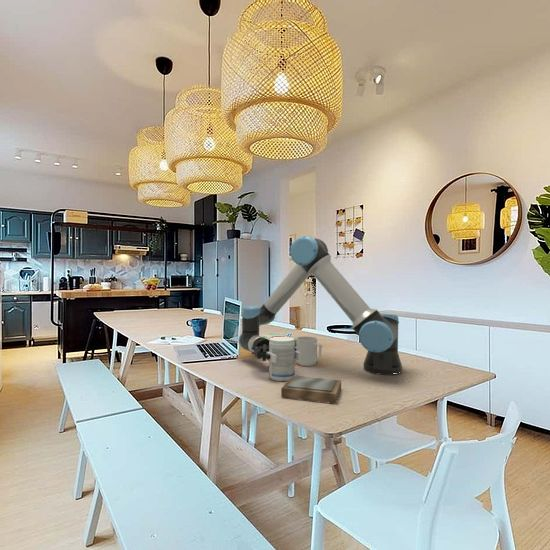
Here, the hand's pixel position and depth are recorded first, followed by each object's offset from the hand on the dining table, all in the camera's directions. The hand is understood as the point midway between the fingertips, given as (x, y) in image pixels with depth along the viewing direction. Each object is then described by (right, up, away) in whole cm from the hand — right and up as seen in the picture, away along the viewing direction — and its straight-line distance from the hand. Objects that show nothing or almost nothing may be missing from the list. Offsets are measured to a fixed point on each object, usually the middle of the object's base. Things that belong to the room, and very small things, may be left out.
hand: (288, 357), depth 134 cm
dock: (+8, -9, -12) cm, 17 cm away
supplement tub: (-2, -9, +4) cm, 10 cm away
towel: (-5, -8, +64) cm, 65 cm away
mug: (+10, -9, +24) cm, 28 cm away
